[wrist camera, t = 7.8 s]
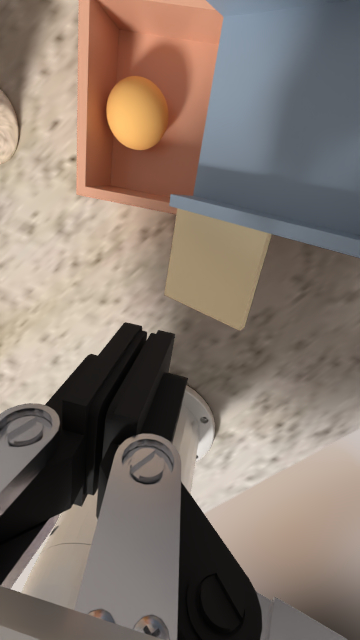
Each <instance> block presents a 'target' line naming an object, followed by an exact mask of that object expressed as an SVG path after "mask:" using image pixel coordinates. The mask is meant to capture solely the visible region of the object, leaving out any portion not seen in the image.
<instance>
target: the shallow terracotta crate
mask: <svg viewBox="0 0 360 640" xmlns="http://www.w3.org/2000/svg"><path fill="white" fill-rule="evenodd" d="M223 18H224V17H223V16H222V15H221V14H220V13H219V12H218V11H217V10H216V9H215V8H213V7H212V6H211V5H210V4H209V3H208V2H207V1H206V0H79V24H78V110H77V195H81V196H86V197H91V198H96V199H101V200H106V201H111V202H117V203H122V204H127V205H132V206H137V207H142V208H147V209H152V210H157V211H162V212H167V213H172V214H177V208H175V207H171V206H169V203H170V196H171V194H176V195H189V196H193V193H194V187H195V181H196V176H197V170H198V164H199V158H200V152H201V146H202V140H203V135H204V129H205V123H206V117H207V111H208V105H209V100H210V94H211V88H212V82H213V76H214V70H215V64H216V59H217V53H218V47H219V41H220V35H221V29H222V23H223ZM130 76H140V77H144V78H146V79H148V80H150V81H152V82H153V83H154V84H155V85H156V86H157V87H158V88H159V89H160V91H161V92H162V94H163V95H164V98H165V100H166V103H167V107H168V125H167V128H166V131H165V134H164V135H163V137H162V139H161V140H160V141H159V142H158V143H157V144H156V145H154V146H153V147H151V148H149V149H145V150H134V149H131V148H128V147H126V146H125V145H123V144H122V143H121V142H120V141H119V140H117V138H116V137H115V136H114V134H113V133H112V131H111V129H110V126H109V124H108V120H107V112H106V108H107V101H108V97H109V95H110V92H111V90H112V89H113V87H114V86H115V85H116V84H117V83H118V82H119V81H121V80H122V79H124V78H126V77H130Z"/></svg>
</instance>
